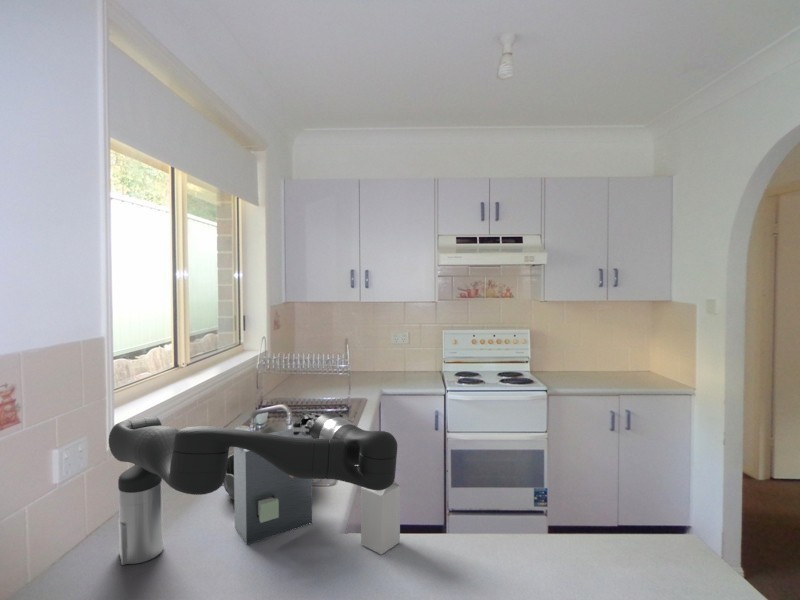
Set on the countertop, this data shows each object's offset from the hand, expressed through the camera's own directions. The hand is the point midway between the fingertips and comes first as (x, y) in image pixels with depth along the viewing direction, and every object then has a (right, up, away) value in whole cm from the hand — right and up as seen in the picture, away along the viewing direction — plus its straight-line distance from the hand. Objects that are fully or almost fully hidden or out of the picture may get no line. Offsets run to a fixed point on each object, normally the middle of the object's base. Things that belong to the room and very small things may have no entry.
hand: (302, 414), depth 116 cm
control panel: (-11, -33, +13) cm, 37 cm away
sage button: (-12, -27, +7) cm, 31 cm away
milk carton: (+19, -34, +4) cm, 39 cm away
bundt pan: (-19, -32, +33) cm, 50 cm away
